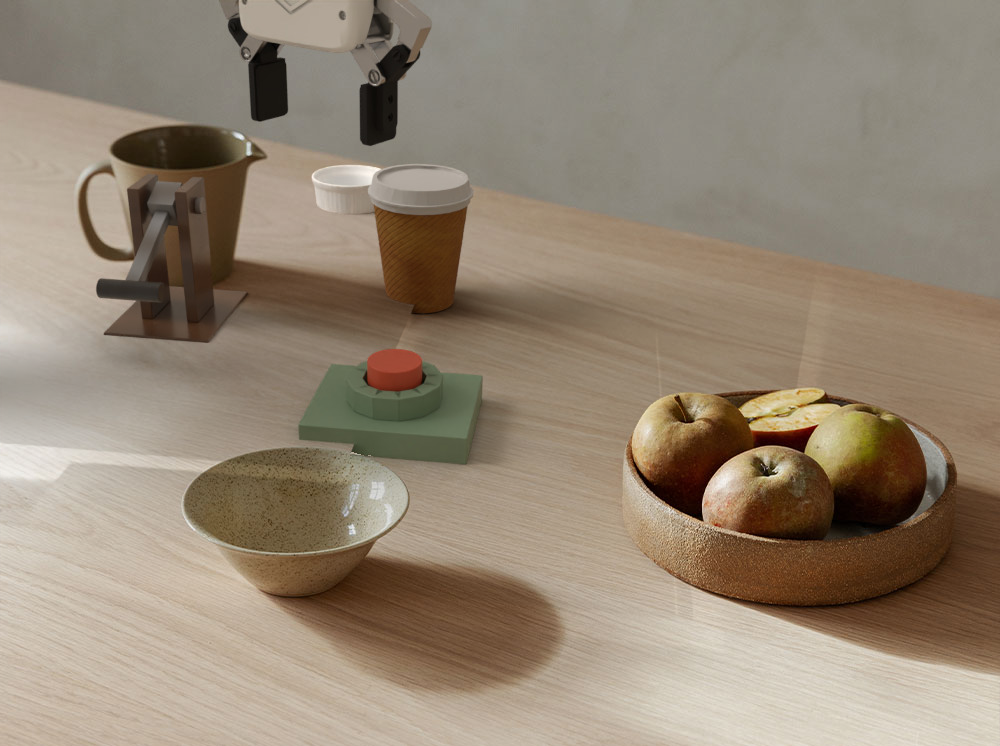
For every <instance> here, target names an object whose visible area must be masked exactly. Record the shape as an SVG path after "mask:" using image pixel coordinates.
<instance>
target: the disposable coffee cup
mask: <svg viewBox="0 0 1000 746" xmlns="http://www.w3.org/2000/svg"><path fill="white" fill-rule="evenodd" d="M380 169H381V170H379V171H377V172H376V173H375V174H374V175H373V178H372V183H371V185H370V186H369V188H368V194H369V196H370V197H371V201H372V203H373V204H374V212H373V213H374V218H375V219H374V220H375V226H376V233H377V239H378V246H379V247H378V248H379V253H380V263H381V266H382V267H381V268H382V275H383V282H384V283H383V284H384V290H385V294H386V295H387V297H388V298H389V299H391V300H394V301H396V302H399V303H402V304H407V305H409V304H410V305H413V307H412V309H411V312H410V313H413V314H431V313H438V312H441V311H443V310H447V309H448V308H450V307H452V305H453V304H454V301H455V294H456V293H455V292H456V285H457V280H458V273H459V266H460V259H461V253H462V246H463V240H464V233H465V227H466V226H465V225H466V220H467V214H468V213H467V212H468V208H469V207H468V206H469V205H470V203H471V199H472V198H473V197H474V189H473V187H472V186H471V185H470V179H469V176H468V174H466V173H465V172H464V171H462V170H459V169H457V168H454V167H451V166H445V165H439V164H429V163H408V164H397V165H391V166H387V167H384V168H380Z"/></svg>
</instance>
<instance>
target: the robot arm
mask: <svg viewBox="0 0 1000 746" xmlns="http://www.w3.org/2000/svg"><path fill="white" fill-rule="evenodd" d="M218 1H219V5H220V7H221V9H222V12H223V14H224V17H225V20H228V22H227V29H228V32H229V34H230V35H231V36H232V38H233V39H234V41H235V42H236V43H237V45H238V47H239V51H238V52H239V56H240V58H241V60H242V61H243V62H244V63H247V64H248V65H247V68H248V86H249V87H248V88H249V105H250V118H251V120H252V121H254V122H259V123H261V122H264V121H269V120H273V119H277V118H281V117H284V116H286V115H287V114H288V112H289V97H288V94H289V93H288V70H287V69H288V68H287V62H286V58H285V57H280V56H279V54H280V52H282V50H283V48H284V46H288V47H289V46H290V47H296V48H301V49H306V50H313V51H319V52H326V53H331V54H332V53H333V54H343V53H344V54H345V53H349V52H350V54H351V56H352V57H353V59H354V60H355V62H356V63H357V65H358V67H359V69H360V71H361V72H362V74H363V75H364V77H365V79H366V80H367V83H363V84H360V87H359V89H358V90H359V92H358V93H359V141H360V142H361V144H362V145H364V146H368V147H372V146H376V145H378V144H379V145H380V144H381V143H384V142H389V141H391V140H394V139H395V138H396V136H397V127H398V121H399V120H398V119H399V110H398V108H399V104H398V103H399V99H398V98H399V82H400V81H403V80H404V79H405V78H406V77H407V72H408V71H410V69H411V68H412V67H413V66H414V65H415V63H416V62H418V60H419V59H420V57H421V50H422V49H423V47H424V45H425V42H426V40H427V38H428V36H429V34H430V32H431V30H432V26H433V23H432V19H431V18H430V17H429V16H428V15H427V14H426V13H424V11H422V10H421V9H419V8H418V7H417V6H416V5H415V4H413V3H412V2H411V1H410V0H218ZM395 24H396V25H397V27H398V29H399V35H398V37H397V42H396V44H395V45H393V43H392V41H391V40H392V38H393V35H394V30H395ZM278 56H279V57H278Z"/></svg>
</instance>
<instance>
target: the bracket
mask: <svg viewBox="0 0 1000 746" xmlns="http://www.w3.org/2000/svg"><path fill="white" fill-rule="evenodd" d="M157 181H159V175H158V174H153V173H146V174H145V175H143V176H142V177H141V178H139V179H138V180H137V181H135V182H134V183H132V184H131V185H130V186H128V187H127V188H126V193H127V202H128V210H129V211H128V212H129V219H130V229H131V236H132V237H131V239H132V246H133V255H134V258H135V257H136V254H137V252H138V250H139V247H140V245H141V243H142V240H143V238H144V236H145V234H146V231H147V229H148V227H149V224H150V222H151V220H152V217H151V214H150V211H149V208H148V205H147V202H148V200H149V198H150V196H151V193H152V191H153V189H154V186H155V184H156V182H157ZM205 187H206V186H205V178H204V177H202V176H199V177H198V176H192V177H191V178H190V179H188V180H187V181H186V182H185V183H183V185H182V186H181V187H180V188H179V189H177V190H176V191H175V203H176V213H177V223H178V226H177V234H178V243H179V253H180V264H181V272H182V273H181V275H182V284H183V285H182V286H172V285H170V279H169V269H168V260H167V251H166V241H165V236H164V237H163V239H162V242H161V244H160V247H159V249H158V251H157V254H156V256H155V258H154V261H153V263H152V266H151V268H150V270H149V273H148V275H147V278H146V280H145V281H146V282H160V283H163V284H164V285H165V291H166V292H165V298H164V301H163V302H161V303H160V302H147V301H134V302H133V303H132V304H131V305H130V306H129V307H128V308H127V309H126V310H125V311H124V312H123V313H122V314H121V315H120V316H119V317H118V318H117V319H116V320H115V321H114V322H113V323H111V325H110V326H109V327H108V328H107V329H106V330H104V331H103V336H111V337H125V338H138V339H153V340H163V341H176V342H177V341H178V342H190V343H203V344H204V343H205V344H208V343H210V341H212V339H213V338H214V337H215V335H216V334H217V332H218V331H219V330H220V329H221V327H222V326H223V325H224V324H225V323H226V321H227V320H228V319H229V318H230V317H231V316H232V315H233V313H234V311H236V309H237V308H238V307H239V305H240V304H241V303H242V301H243V300H244V299H245V298H246V296H247V295H248V291H243V290H229V289H228V290H227V289H216V288H214V284H213V283H214V282H213V270H212V259H211V248H210V236H209V223H208V212H207V211H208V210H207V199H206V188H205Z"/></svg>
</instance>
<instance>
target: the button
mask: <svg viewBox="0 0 1000 746" xmlns="http://www.w3.org/2000/svg"><path fill="white" fill-rule="evenodd" d="M366 361H367V381H368V384H369V386H370V387H373V388H375V389H378V390H383V391H396V392H399V391H405V390H411V389H414V388H416V387H418V386H420V385H421V383H422V361H423V358H422V357H421V355H420V354H418V353H416V352H415V351H412V350H409V349H405V348H404V349H403V348H386V349H381V350H378V351H375V352H373V353H372V354H370V355H368V358H367V360H366Z"/></svg>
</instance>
